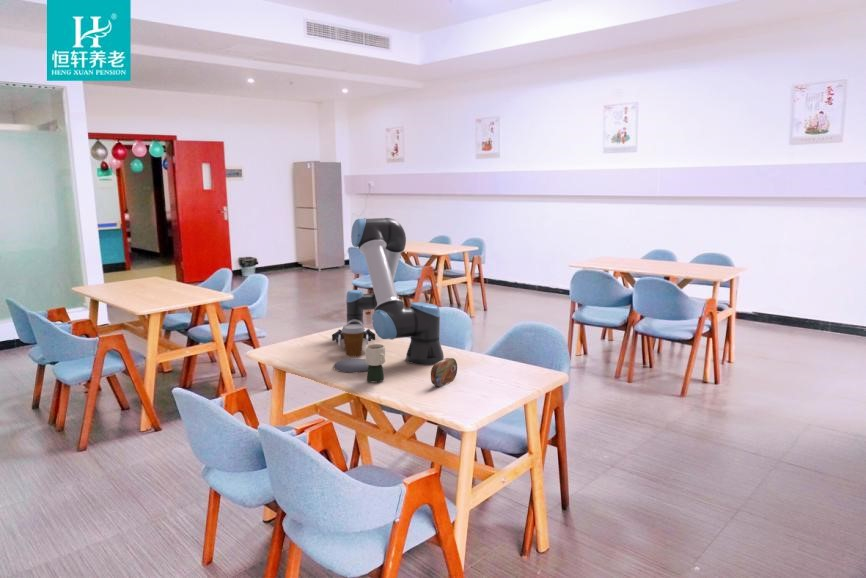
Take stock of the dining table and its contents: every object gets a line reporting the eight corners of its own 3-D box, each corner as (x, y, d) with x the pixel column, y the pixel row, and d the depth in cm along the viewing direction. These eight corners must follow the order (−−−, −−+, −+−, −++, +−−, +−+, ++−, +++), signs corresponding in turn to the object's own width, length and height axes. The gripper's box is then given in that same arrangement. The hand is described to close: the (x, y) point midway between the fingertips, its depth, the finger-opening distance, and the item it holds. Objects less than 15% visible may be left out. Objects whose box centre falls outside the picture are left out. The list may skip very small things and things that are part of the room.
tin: (436, 389, 206) (436, 366, 204) (428, 387, 207) (429, 364, 206) (457, 378, 218) (458, 356, 217) (450, 376, 220) (450, 354, 218)
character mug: (392, 383, 212) (392, 347, 210) (375, 387, 207) (375, 351, 205) (375, 375, 220) (375, 341, 218) (358, 379, 216) (358, 344, 214)
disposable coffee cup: (340, 357, 243) (339, 328, 241) (344, 351, 252) (343, 323, 250) (363, 357, 242) (363, 329, 240) (366, 351, 252) (366, 324, 250)
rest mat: (382, 363, 235) (382, 361, 235) (361, 374, 221) (361, 372, 220) (348, 358, 241) (348, 356, 241) (325, 369, 227) (325, 367, 227)
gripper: (380, 336, 266) (381, 350, 244) (328, 337, 263) (324, 351, 242) (380, 320, 264) (381, 332, 243) (327, 321, 262) (324, 333, 240)
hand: (353, 341), depth 242 cm, fingers open, 11 cm apart
